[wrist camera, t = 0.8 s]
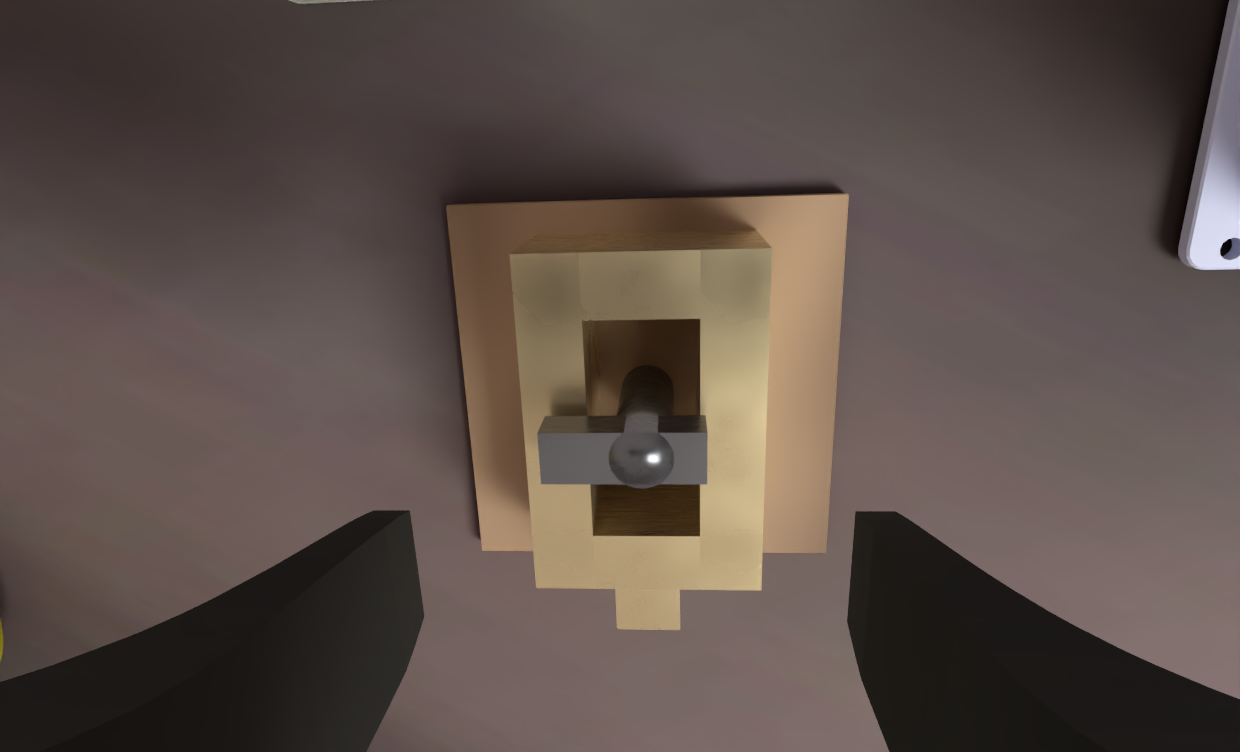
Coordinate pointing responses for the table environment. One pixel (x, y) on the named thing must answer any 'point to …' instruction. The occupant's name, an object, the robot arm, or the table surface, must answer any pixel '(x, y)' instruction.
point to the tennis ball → (1, 640)
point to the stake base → (660, 344)
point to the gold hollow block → (725, 393)
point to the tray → (322, 1)
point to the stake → (627, 440)
